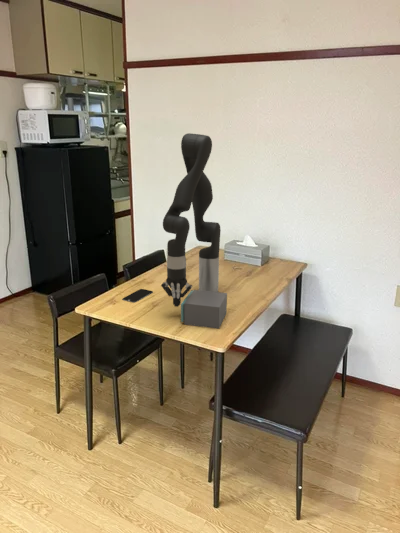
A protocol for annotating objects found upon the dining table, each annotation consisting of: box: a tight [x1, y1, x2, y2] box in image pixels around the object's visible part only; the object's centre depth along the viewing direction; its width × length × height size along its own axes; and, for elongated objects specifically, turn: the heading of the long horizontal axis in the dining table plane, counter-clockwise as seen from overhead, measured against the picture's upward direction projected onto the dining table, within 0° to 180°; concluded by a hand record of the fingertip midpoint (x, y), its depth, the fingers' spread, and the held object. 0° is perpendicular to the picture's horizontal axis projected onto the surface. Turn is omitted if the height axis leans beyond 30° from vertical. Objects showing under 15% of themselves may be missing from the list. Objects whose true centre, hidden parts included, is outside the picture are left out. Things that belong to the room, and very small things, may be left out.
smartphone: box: [121, 288, 154, 304], centre depth 198 cm, size 8×1×15 cm
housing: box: [183, 289, 228, 329], centre depth 174 cm, size 15×14×9 cm
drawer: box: [180, 289, 195, 323], centre depth 174 cm, size 15×14×7 cm
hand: (176, 305), depth 176 cm, fingers closed
